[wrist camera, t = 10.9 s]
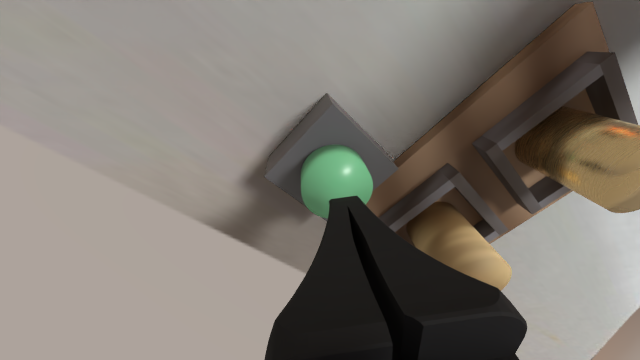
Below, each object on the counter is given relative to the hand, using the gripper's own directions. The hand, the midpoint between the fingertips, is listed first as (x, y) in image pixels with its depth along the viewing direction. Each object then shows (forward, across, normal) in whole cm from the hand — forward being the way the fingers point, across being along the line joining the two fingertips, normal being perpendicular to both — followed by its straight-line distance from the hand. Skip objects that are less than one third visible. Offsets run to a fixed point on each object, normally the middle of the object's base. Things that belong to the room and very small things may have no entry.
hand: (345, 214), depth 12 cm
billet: (+6, -16, +1) cm, 17 cm away
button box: (+7, 0, 0) cm, 7 cm away
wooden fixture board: (+7, -12, +4) cm, 15 cm away
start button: (+4, 0, 0) cm, 4 cm away
